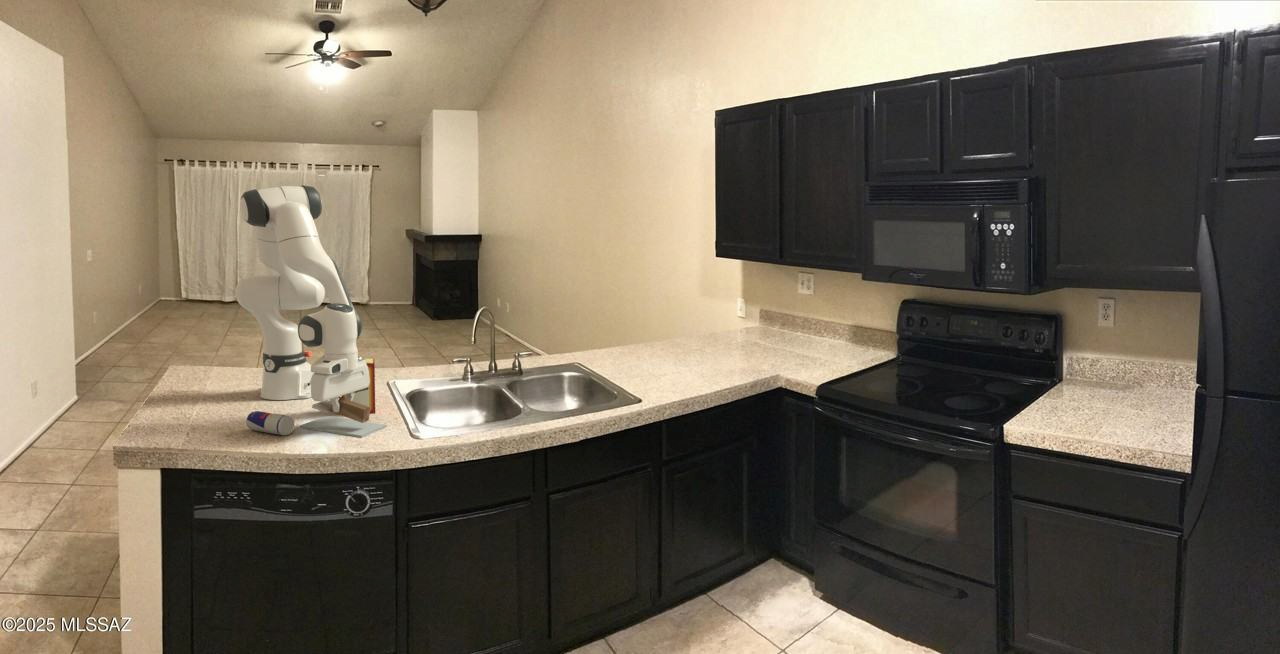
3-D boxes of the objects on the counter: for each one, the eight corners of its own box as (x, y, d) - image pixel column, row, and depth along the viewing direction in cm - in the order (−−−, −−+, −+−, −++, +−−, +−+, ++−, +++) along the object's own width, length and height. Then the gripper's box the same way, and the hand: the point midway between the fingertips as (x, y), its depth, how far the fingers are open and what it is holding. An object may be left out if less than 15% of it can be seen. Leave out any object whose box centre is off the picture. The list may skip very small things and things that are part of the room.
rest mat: (326, 417, 226) (326, 415, 226) (386, 426, 220) (386, 424, 220) (299, 427, 216) (299, 425, 216) (361, 437, 210) (361, 435, 209)
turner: (327, 403, 222) (328, 390, 221) (372, 419, 217) (374, 406, 217) (312, 407, 216) (313, 394, 216) (358, 424, 212) (360, 411, 211)
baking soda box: (341, 415, 230) (340, 362, 227) (342, 409, 236) (341, 358, 233) (375, 413, 233) (374, 361, 230) (375, 407, 239) (374, 357, 236)
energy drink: (282, 414, 206) (248, 409, 210) (278, 434, 205) (243, 428, 209) (297, 417, 211) (262, 412, 215) (292, 436, 210) (258, 430, 214)
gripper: (356, 354, 225) (357, 400, 227) (305, 367, 206) (307, 417, 208) (374, 356, 223) (375, 402, 225) (325, 369, 204) (326, 420, 206)
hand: (342, 409), depth 217 cm, fingers closed on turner, 3 cm apart
